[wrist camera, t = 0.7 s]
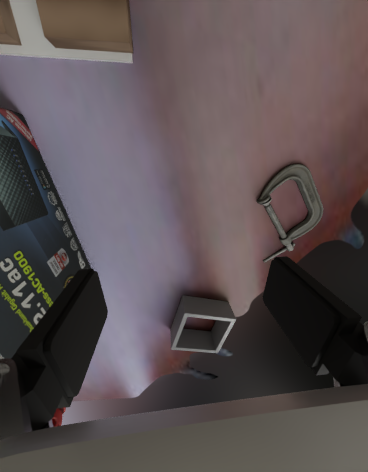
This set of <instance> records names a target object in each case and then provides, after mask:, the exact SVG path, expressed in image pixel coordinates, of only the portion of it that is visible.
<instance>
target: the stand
mask: <svg viewBox="0 0 368 472" xmlns="http://www.w3.org/2000/svg"><path fill="white" fill-rule="evenodd" d="M36 4H37V8H38V12H39V16H40V21H41V25H42V29H43V33H44V37H45V38H46V39H47V40H48V41H49V42H50V43H51V44H52V45H53V46H54V47H55V48H63V49H77V50H92V51H106V52H121V53H133V44H132V32H131V20H130V7H129V0H36Z"/></svg>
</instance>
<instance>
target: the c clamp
mask: <svg viewBox="0 0 368 472" xmlns="http://www.w3.org/2000/svg"><path fill="white" fill-rule="evenodd" d="M287 180H294V181H296V183H297V185H298V188H299V190H300V192H301V195H302V197H303V200H304V202H305V204H306V206H307V209H308V215H307V217H306V219H305V220H304V221H303V222H301V223H300V224H298V225H297V226H295V227H294V228H292V229H291V230H290V231H289V232H288V233H287V234H286V233H285V231H284V229H283V227H282V225H281V224H280V222H279V220H278V218H277V216H276V214H275V212H274V210H273V208H272V206H271V205H270V204H269V203H270V202H271V200H272V199H271V196H270V194H271V193H272V192H273V191H274V190H275V189H276V188H277V187H279V186H280V185H281V184H283V183H284V182H285V181H287ZM257 203H259V204H261V205H264V206H265V209H266V211H267V213H268V215H269V217H270V219H271V220H272V222H273V224H274V226H275V228H276V229H277V231H278V233H279V235H280V238H279V239H280V241H281V243H282V244H283V245H285V246H286V247H285V248H284V249H282V250H280V251H278V252H277V253H275V254H273V255H271V256H270V257H268V258H266V259H264V260H263V261H264V262H267V261H268V260H270V259H272V258H273V257H275V256H277V255H279V254H280V253H282V252H284V251H286V250H288V251H292V250H293V249H294V248H293V246H295V244H294V243H291V241H292V240H293V239H296V238H298V237H300V236H302V235H303V234H305V233H307V232H308V231H310V230H311V229H313V228H314V227H315V226H316V225H317V224H318V222H319V221H320V219H321V217H322V214H323V205H322V203H321V200H320V197H319V194H318V192H317V189H316V186H315V184H314V181H313V178H312V175H311V172H310V171H309V169H308V168H307V167H306V166H304V165H302V164H293V165H290V166H288V167H286V168H284V169H283V170H282V171H280V172H279V173H278V174H277V175H276V176H275V177H274V178H273V179H272V180H271V181H270V182H269V183H268V185H267V186H266V188H265V189H264V191H263V193H262V195H261V197H260V198H259V199H258V200H257Z"/></svg>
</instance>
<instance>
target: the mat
mask: <svg viewBox="0 0 368 472" xmlns="http://www.w3.org/2000/svg"><path fill="white" fill-rule="evenodd" d="M9 1H10V5H11V8H12V12H13V16H14V19H15V23H16V26H17V30H18V34H19V37H20V41H21V44H22V46H21V45H6V44H0V55H10V56H25V57H41V58H57V59H73V60H89V61H105V62H121V63H133V61H132V53H121V52H106V51H92V50H77V49H63V48H55V47H54V46H53V45H52V44H51V43H50V42H49V41H48V40H47V39H46V38H45V37H44V33H43V29H42V25H41V21H40V16H39V12H38V8H37V4H36V0H9Z"/></svg>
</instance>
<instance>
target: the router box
mask: <svg viewBox="0 0 368 472" xmlns="http://www.w3.org/2000/svg"><path fill="white" fill-rule="evenodd" d="M80 269H91V268H90V265H89V263H88V261H87V259H86V256H85V254H84V252H83V250H82V247H81V245H80V243H79V240H78V238H77V236H76V234H75V232H74V229H73V227H72V225H71V223H70V220H69V218H68V216H67V213H66V211H65V209H64V207H63V204H62V202H61V200H60V197H59V195H58V193H57V191H56V189H55V187H54V184H53V182H52V179H51V177H50V175H49V173H48V170H47V168H46V166H45V164H44V161H43V159H42V157H41V155H40V152H39V150H38V148H37V145H36V143H35V141H34V139H33V136H32V134H31V132H30V130H29V127H28V125H27V123H26V120H25V118H24V117H23V115H21V114H19V113H16V112H13V111H10V110H6V109H3V108H0V359H8V358H9V359H11V358H12V357H13V355H14V354H15V353H16V351H17V349H18V348H19V347H20V345H21V344H22V343H23V342H24V340H25V339H26V338H27V336H28V335H29V334H30V332H31V331H32V330H33V329H34V327H35V326H36V325H37V323H38V322H39V321H40V319H41V318H42V317H43V316H44V314H45V313H46V312H47V310H48V309H49V308H50V306H51V305H52V304H53V303H54V301H55V300H56V299H57V297H58V296H59V295H60V294H61V292H62V291H63V290H64V288H65V287H66V286H67V284H68V283H69V282H70V281H71V279H72V278H73V277H74V275H75V274H76V273H77V271H78V270H80Z"/></svg>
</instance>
